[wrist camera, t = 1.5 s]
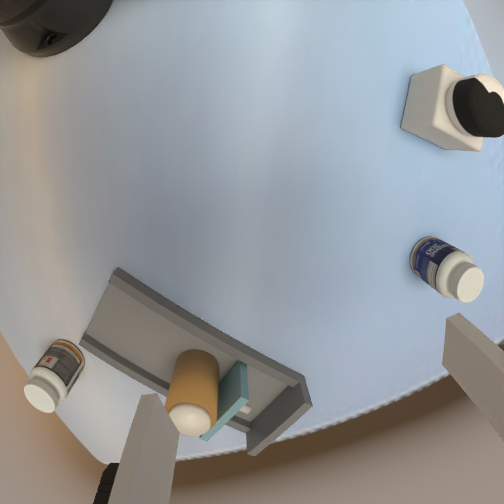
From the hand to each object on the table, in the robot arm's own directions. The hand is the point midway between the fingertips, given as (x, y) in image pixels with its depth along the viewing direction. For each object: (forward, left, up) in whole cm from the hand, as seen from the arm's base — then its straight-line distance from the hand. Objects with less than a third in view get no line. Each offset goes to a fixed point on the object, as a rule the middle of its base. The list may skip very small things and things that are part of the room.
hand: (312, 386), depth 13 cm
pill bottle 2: (+18, +10, -24) cm, 31 cm away
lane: (+1, -18, -23) cm, 30 cm away
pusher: (+8, -18, -22) cm, 30 cm away
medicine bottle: (+7, +24, -24) cm, 34 cm away
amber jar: (+2, -18, -23) cm, 29 cm away
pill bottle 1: (-13, -29, -24) cm, 40 cm away
